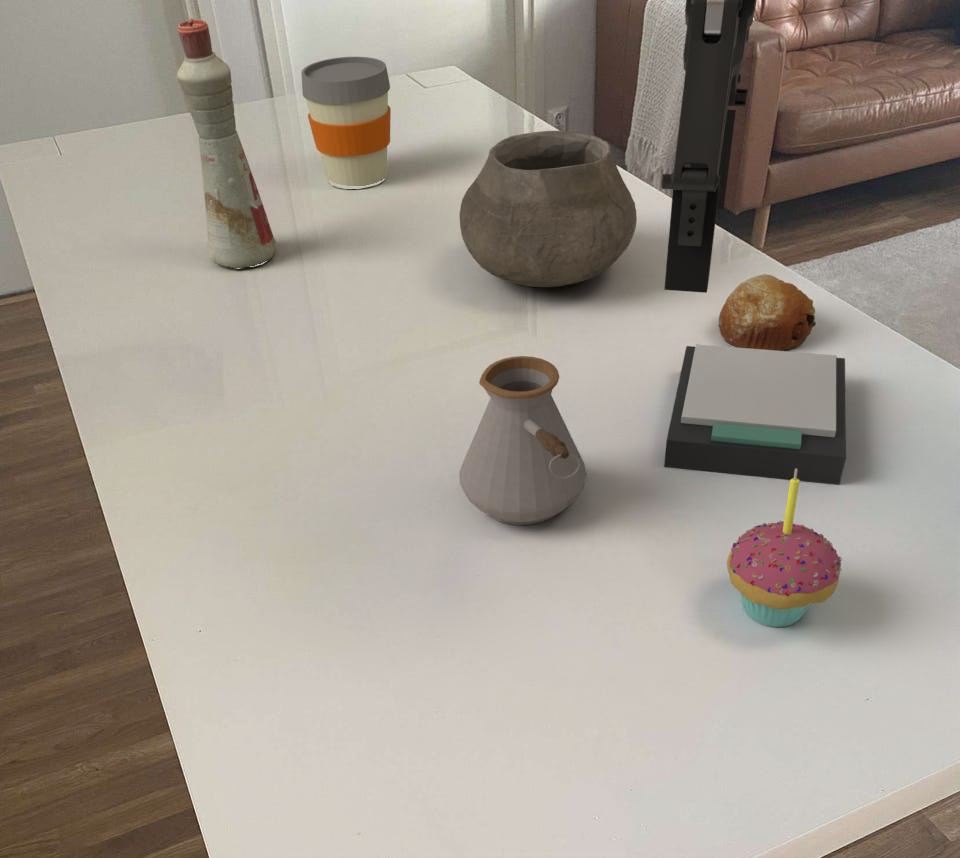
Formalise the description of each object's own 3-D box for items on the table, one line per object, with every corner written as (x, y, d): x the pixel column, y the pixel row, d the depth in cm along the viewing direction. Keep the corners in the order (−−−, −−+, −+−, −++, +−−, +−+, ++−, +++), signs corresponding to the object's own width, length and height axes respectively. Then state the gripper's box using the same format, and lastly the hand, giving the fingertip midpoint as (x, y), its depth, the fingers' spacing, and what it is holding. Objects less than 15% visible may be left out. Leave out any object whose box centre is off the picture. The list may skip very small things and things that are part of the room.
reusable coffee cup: (415, 176, 152) (406, 66, 142) (350, 201, 146) (335, 88, 136) (364, 157, 159) (351, 51, 148) (299, 180, 153) (281, 71, 143)
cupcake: (714, 573, 84) (733, 452, 76) (818, 572, 84) (848, 450, 75) (728, 645, 78) (750, 522, 70) (840, 645, 78) (875, 521, 69)
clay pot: (437, 259, 131) (428, 137, 120) (584, 226, 136) (587, 106, 126) (506, 330, 116) (502, 198, 106) (667, 290, 122) (678, 160, 111)
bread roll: (739, 337, 120) (718, 274, 116) (827, 312, 114) (807, 246, 110) (722, 378, 113) (699, 313, 109) (814, 354, 108) (793, 285, 104)
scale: (839, 384, 105) (846, 350, 102) (839, 484, 92) (848, 449, 90) (683, 371, 108) (687, 338, 105) (663, 466, 96) (667, 432, 93)
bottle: (198, 257, 135) (139, 18, 115) (259, 238, 138) (211, 2, 119) (228, 278, 130) (171, 32, 110) (289, 258, 133) (245, 15, 114)
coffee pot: (451, 473, 96) (440, 327, 86) (568, 456, 98) (571, 310, 87) (494, 622, 81) (486, 468, 71) (631, 600, 82) (644, 445, 72)
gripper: (690, -170, 64) (663, 175, 79) (636, -97, 47) (614, 325, 62) (812, -173, 63) (761, 180, 77) (802, -99, 46) (739, 335, 60)
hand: (696, 245), depth 70 cm, fingers open, 13 cm apart
